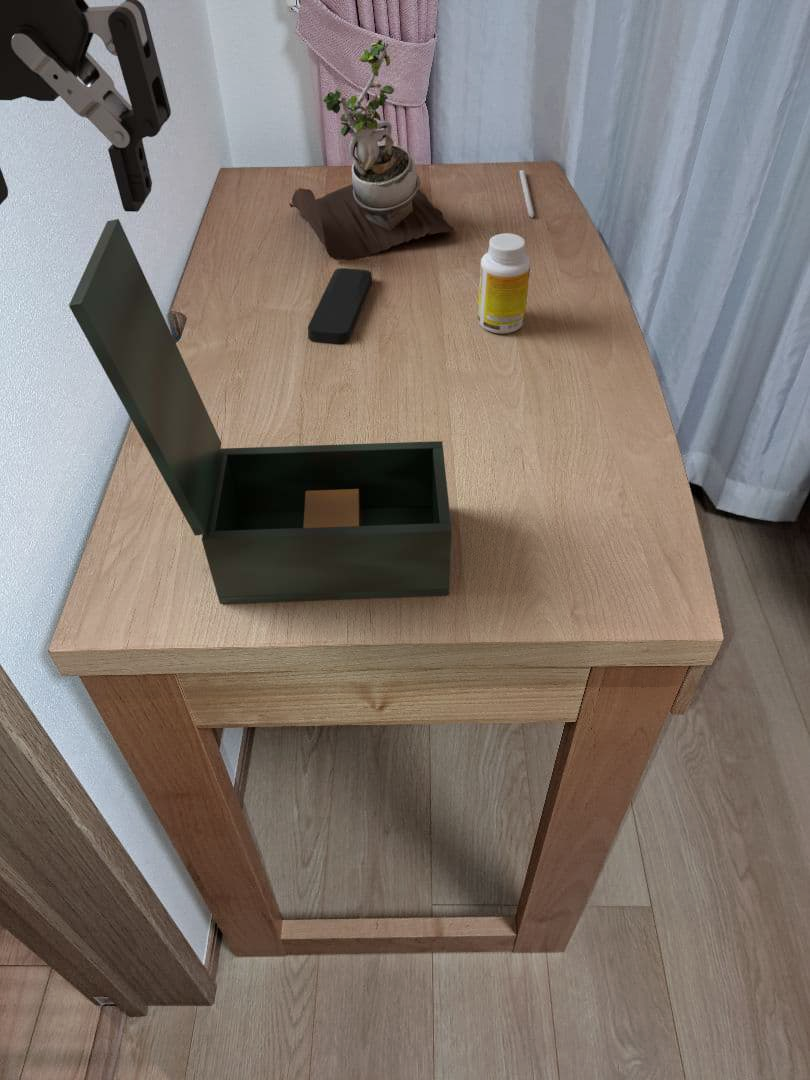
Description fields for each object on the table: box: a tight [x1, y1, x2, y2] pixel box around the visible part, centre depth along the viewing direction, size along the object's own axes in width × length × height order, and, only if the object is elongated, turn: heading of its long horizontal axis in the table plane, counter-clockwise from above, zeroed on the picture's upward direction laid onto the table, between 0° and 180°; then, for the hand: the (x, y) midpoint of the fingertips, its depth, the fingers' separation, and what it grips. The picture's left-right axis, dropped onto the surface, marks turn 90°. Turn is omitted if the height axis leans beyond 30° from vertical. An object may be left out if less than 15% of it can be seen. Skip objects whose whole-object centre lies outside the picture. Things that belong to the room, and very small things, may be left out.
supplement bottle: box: [477, 232, 531, 335], centre depth 94 cm, size 6×6×10 cm
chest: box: [201, 440, 453, 605], centre depth 70 cm, size 19×11×8 cm, turn 92°
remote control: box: [307, 267, 374, 344], centre depth 100 cm, size 5×2×15 cm
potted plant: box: [288, 38, 457, 261], centre depth 108 cm, size 20×19×25 cm
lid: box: [68, 218, 222, 537], centre depth 59 cm, size 20×11×1 cm
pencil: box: [518, 169, 535, 219], centre depth 121 cm, size 1×1×15 cm
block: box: [303, 489, 362, 528], centre depth 71 cm, size 5×5×5 cm
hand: (66, 204), depth 49 cm, fingers open, 8 cm apart
